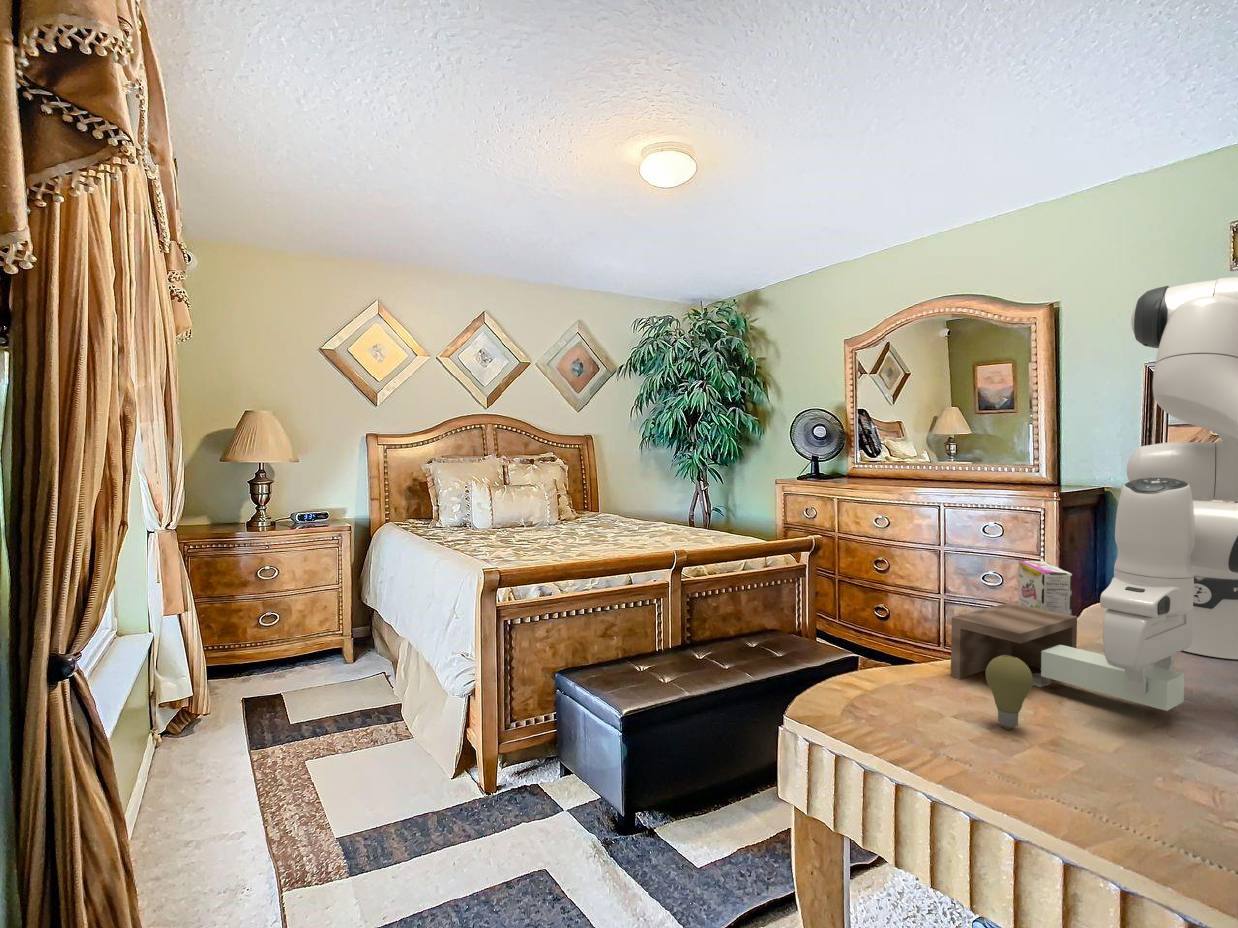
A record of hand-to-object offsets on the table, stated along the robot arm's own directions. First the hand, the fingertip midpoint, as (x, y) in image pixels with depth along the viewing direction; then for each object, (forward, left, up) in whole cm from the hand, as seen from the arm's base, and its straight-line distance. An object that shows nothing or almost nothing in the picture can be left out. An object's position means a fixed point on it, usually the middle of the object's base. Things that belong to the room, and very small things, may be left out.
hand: (1149, 687), depth 94 cm
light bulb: (+21, -9, -4) cm, 23 cm away
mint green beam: (0, -5, -2) cm, 5 cm away
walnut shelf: (0, -19, -4) cm, 19 cm away
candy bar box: (-16, -22, -4) cm, 27 cm away
